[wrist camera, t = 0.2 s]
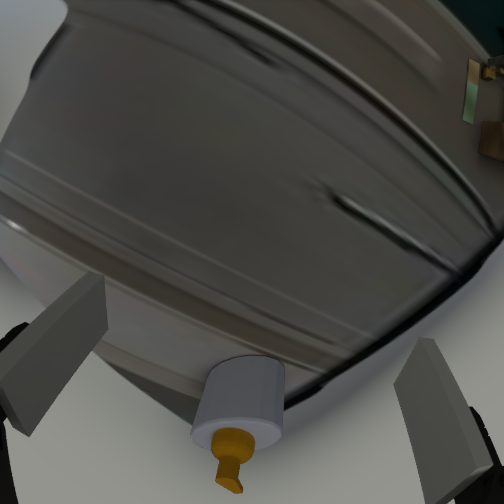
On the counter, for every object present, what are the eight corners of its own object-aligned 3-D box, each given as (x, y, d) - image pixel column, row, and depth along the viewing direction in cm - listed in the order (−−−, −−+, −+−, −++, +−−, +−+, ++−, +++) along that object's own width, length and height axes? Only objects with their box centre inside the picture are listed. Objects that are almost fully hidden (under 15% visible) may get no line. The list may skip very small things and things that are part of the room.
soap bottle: (220, 397, 52) (196, 495, 33) (198, 364, 49) (162, 467, 30) (293, 381, 49) (290, 490, 30) (275, 345, 46) (265, 461, 27)
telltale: (482, 67, 27) (500, 64, 24) (488, 70, 27) (505, 67, 23) (482, 77, 28) (499, 75, 24) (487, 80, 28) (505, 78, 24)
